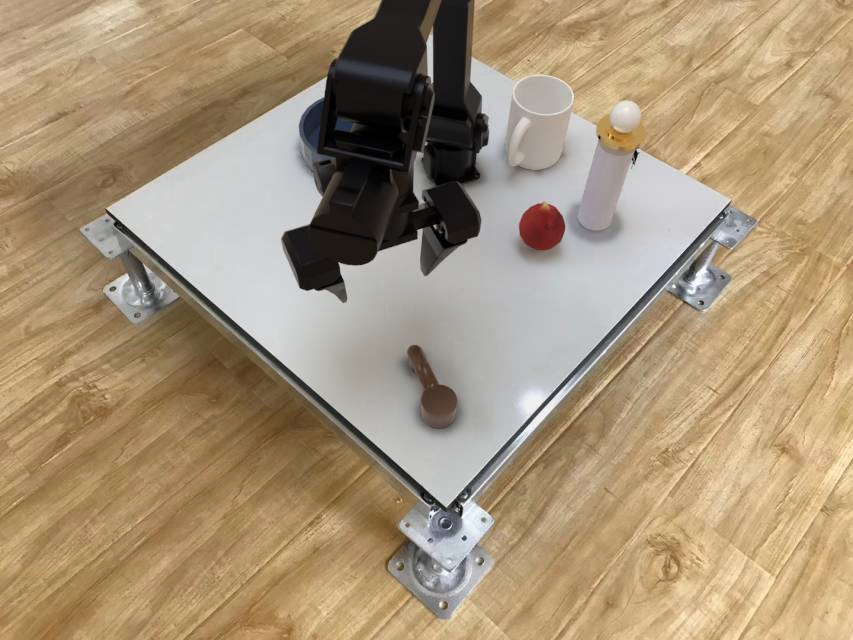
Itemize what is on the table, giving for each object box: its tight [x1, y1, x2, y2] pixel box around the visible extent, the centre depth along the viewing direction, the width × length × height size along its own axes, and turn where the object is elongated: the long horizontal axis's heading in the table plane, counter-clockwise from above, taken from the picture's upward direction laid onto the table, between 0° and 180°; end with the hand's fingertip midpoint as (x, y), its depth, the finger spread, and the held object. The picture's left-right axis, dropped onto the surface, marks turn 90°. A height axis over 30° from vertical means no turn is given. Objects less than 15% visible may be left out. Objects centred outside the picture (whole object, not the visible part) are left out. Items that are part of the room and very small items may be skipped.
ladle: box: [406, 344, 458, 429], centre depth 87 cm, size 10×4×3 cm, turn 23°
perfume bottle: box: [576, 99, 647, 231], centre depth 95 cm, size 6×6×20 cm
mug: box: [504, 74, 575, 171], centre depth 106 cm, size 12×8×10 cm
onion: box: [518, 201, 566, 252], centre depth 98 cm, size 6×6×8 cm
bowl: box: [298, 96, 354, 173], centre depth 108 cm, size 14×14×4 cm
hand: (384, 285), depth 81 cm, fingers open, 9 cm apart
